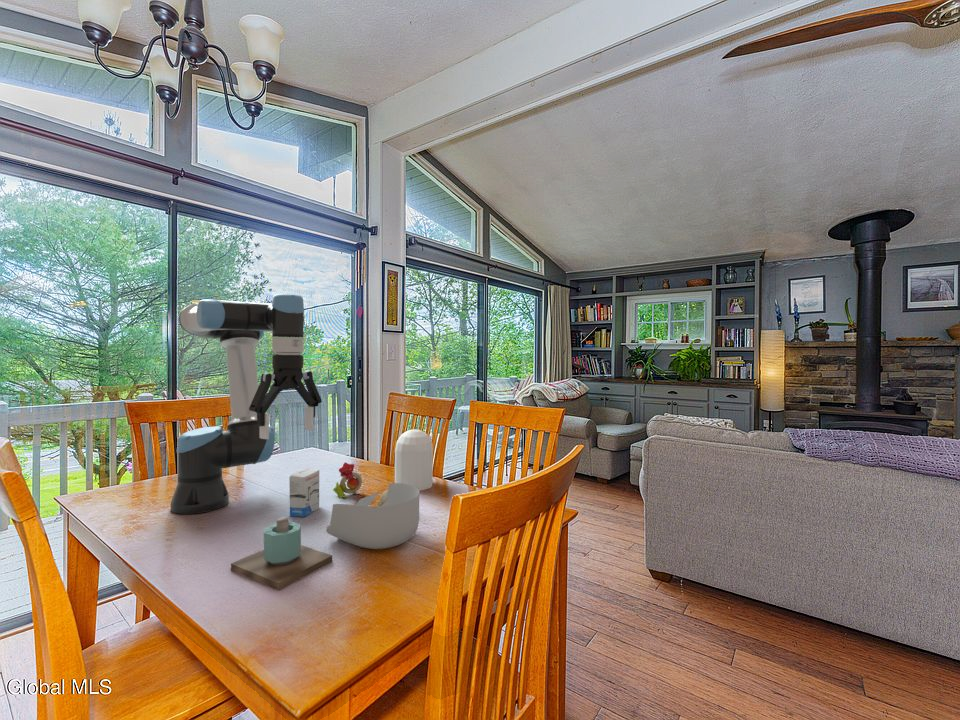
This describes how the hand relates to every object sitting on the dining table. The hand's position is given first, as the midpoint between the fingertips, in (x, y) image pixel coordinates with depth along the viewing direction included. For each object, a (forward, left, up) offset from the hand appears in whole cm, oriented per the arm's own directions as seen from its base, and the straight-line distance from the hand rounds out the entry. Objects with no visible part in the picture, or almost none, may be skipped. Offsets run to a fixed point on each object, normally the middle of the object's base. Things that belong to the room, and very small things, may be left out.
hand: (287, 434), depth 119 cm
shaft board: (+15, -13, -26) cm, 33 cm away
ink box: (-8, +12, -26) cm, 30 cm away
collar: (+15, -13, -23) cm, 31 cm away
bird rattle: (-8, +29, -26) cm, 40 cm away
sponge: (+15, +25, -26) cm, 39 cm away
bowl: (+24, +9, -26) cm, 37 cm away
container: (+4, +49, -26) cm, 56 cm away
